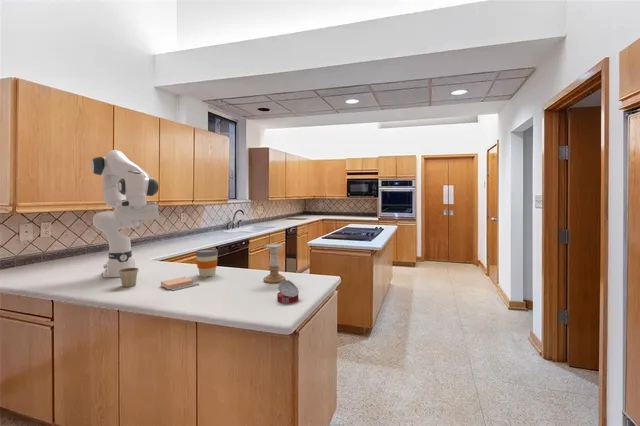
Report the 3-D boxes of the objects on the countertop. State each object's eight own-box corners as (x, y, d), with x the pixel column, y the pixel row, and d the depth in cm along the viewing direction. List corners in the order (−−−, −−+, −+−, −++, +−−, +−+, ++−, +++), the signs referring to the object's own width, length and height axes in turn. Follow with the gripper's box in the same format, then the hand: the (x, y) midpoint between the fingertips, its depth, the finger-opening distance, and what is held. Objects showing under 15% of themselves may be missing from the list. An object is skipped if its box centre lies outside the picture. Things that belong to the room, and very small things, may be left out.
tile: (160, 281, 169) (184, 276, 178) (160, 285, 169) (185, 280, 178) (168, 285, 162) (193, 280, 171) (168, 289, 162) (193, 283, 172)
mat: (160, 284, 172) (160, 283, 172) (186, 279, 182) (186, 278, 182) (172, 290, 161) (172, 289, 161) (199, 284, 171) (199, 283, 171)
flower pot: (143, 284, 172) (142, 268, 172) (125, 289, 164) (124, 272, 164) (133, 282, 177) (132, 266, 176) (115, 286, 169) (114, 270, 168)
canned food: (294, 306, 152) (303, 287, 153) (293, 311, 142) (303, 291, 143) (273, 295, 152) (283, 276, 152) (270, 300, 142) (281, 280, 142)
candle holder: (261, 283, 173) (260, 246, 172) (265, 277, 186) (265, 243, 184) (283, 283, 173) (283, 246, 172) (286, 277, 185) (286, 243, 184)
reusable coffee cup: (214, 277, 185) (213, 252, 184) (192, 277, 185) (192, 252, 184) (221, 272, 198) (220, 248, 197) (201, 272, 198) (200, 248, 197)
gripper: (155, 201, 171) (156, 227, 172) (111, 202, 156) (113, 230, 157) (160, 201, 167) (161, 228, 168) (115, 203, 152) (117, 231, 153)
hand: (137, 229), depth 162 cm, fingers closed
